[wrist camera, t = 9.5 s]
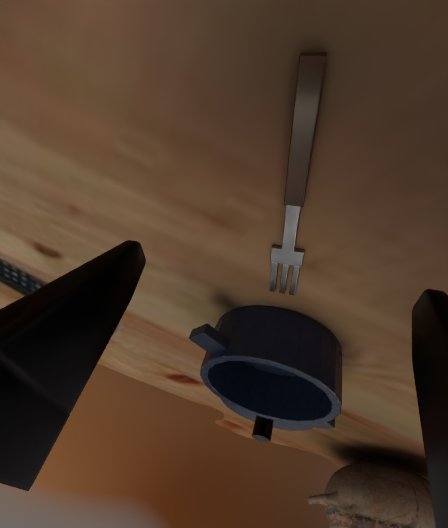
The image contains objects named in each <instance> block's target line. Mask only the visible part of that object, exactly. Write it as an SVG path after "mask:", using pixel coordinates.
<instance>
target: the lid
mask: <svg viewBox="0 0 448 528" xmlns="http://www.w3.org/2000/svg"><path fill="white" fill-rule="evenodd" d="M221 400H222V401H223V403H224V404H225V405H226V406H227V407H228V408H230V409H231V410H233V411H234V412H236V413H237V414H239V415H241V416H243V417H245V418H247V419H249V420H252V421H254V422H255V424H254V429H253V434H252V437H253V438H254V439H256V440H258V441H261V442H266V443H269V442H270V441H271V435H272V429H273V427H274V428H279V429H285V430H307V429H311V428H313V426H312V425H311V424H295V423H287V422H281V421H276V420H272V419H268V418H264V417H261V416H258V415H255V414H252V413H249V412H246V411H244V410H242V409H240V408H238V407H236V406H234V405H232V404H230V403H228V402H226V401H225V400H223V399H222V398H221Z"/></svg>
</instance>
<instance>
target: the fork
mask: <svg viewBox="0 0 448 528" xmlns="http://www.w3.org/2000/svg"><path fill="white" fill-rule="evenodd" d="M326 59H327V53H301V54H300V56H299V65H298V75H297V84H296V94H295V104H294V113H293V123H292V132H291V142H290V151H289V161H288V171H287V180H286V190H285V199H284V205H286V213H285V222H284V231H283V240H282V246H276V245H272V249H271V262H272V269H271V281H270V291H273V292H275V288H276V278H277V269H278V263H279V264H283V267H282V275H281V283H280V291H279V292H280V293H285V288H286V281H287V274H288V267H289V265H292V266H294V268H293V274H292V280H291V286H290V293H289V294H290V295H295V290H296V284H297V279H298V273H299V268H300V267H301V266H302V261H303V256H304V250H303V249H296V248H294V247H295V240H296V234H297V227H298V220H299V214H300V207H303V203H304V197H305V191H306V185H307V178H308V172H309V166H310V160H311V153H312V147H313V141H314V134H315V128H316V122H317V116H318V109H319V103H320V97H321V91H322V84H323V78H324V72H325V66H326Z"/></svg>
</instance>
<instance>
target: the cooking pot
mask: <svg viewBox="0 0 448 528" xmlns="http://www.w3.org/2000/svg"><path fill="white" fill-rule="evenodd" d="M308 502H309V503H310V504H315V503H320V504H323V505H325V509H326V514H327V519H328V523H329V526H330V528H435V521H434V513H433V506H432V499H431V492H430V485H429V481H428V480H427V479H425V478H424V477H422V476H421V475H419V474H418V473H417V472H415V471H414V470H413V469H411V468H410V467H409V466H408V465H406V464H404V463H401V462H399V461H396V460H392V459H388V458H383V457H367V458H365V459H363V460H361V461H358V462H355V463H352V464H350V465H347V466H345V467H343V468H341V469H339V470H338V471H336V472H335V473H334V474H333V475H332V477H331V478H330V480H329V481H328V484H327V486H326V489H325V494H320V495H315V496H310V497H308Z"/></svg>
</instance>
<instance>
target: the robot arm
mask: <svg viewBox="0 0 448 528" xmlns="http://www.w3.org/2000/svg"><path fill="white" fill-rule="evenodd" d="M145 262H146V259H145V256H144V253H143V250H142V247H141V244H140V243H139V242H137V241H131V240H128V241H125V242H123V243H122V244H120V245H118V246H116V247H114V248H112V249H111V250H109V251H107V252H105V253H103V254H102V255H100V256H98V257H96V258H94V259H92V260H91V261H89V262H87V263H85V264H83V265H81V266H80V267H78V268H76V269H74V270H72V271H70V272H69V273H67V274H65V275H63V276H61V277H59V278H58V279H56V280H54V281H52V282H50V283H48V284H46V285H45V286H43V287H41V288H39V289H37V290H35V291H34V292H33V293H30V294H28V295H26V296H24V297H23V298H21V299H19V300H17V301H15V302H13V303H11V304H9V305H8V306H6V307H4V308H2V309H0V483H2V484H5V485H9V486H12V487H16V488H19V489H23V490H26V491H29V489H30V488H31V486H32V484H33V483H34V481H35V479H36V477H37V475H38V473H39V471H40V470H41V468H42V466H43V464H44V462H45V460H46V458H47V457H48V455H49V453H50V451H51V449H52V447H53V445H54V443H55V442H56V440H57V438H58V436H59V434H60V432H61V430H62V429H63V426H64V425H65V423H66V421H67V419H68V417H69V415H70V413H71V411H72V409H73V408H74V406H75V404H76V402H77V400H78V398H79V396H80V394H81V392H82V391H83V389H84V387H85V385H86V383H87V381H88V379H89V377H90V376H91V374H92V372H93V370H94V368H95V366H96V364H97V363H98V361H99V359H100V357H101V355H102V353H103V351H104V349H105V348H106V346H107V344H108V342H109V340H110V338H111V336H112V334H113V333H114V331H115V329H116V327H117V325H118V323H119V321H120V319H121V318H122V316H123V314H124V312H125V310H126V308H127V306H128V304H129V302H130V300H131V298H132V296H133V294H134V291H135V289H136V286H137V284H138V281H139V279H140V276H141V274H142V271H143V268H144V266H145ZM412 362H413V371H414V378H415V385H416V392H417V399H418V407H419V414H420V421H421V428H422V435H423V442H424V449H425V456H426V464H427V471H428V478H429V485H430V492H431V499H432V506H433V513H434V521H435V528H448V295H447V294H446V293H445V292H443V291H438V290H432V289H426V290H425V291H424V292H423V293H422V295H421V296H420V298H419V299H418V301H417V302H416V304H415V305H414V307H413V310H412Z"/></svg>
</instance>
